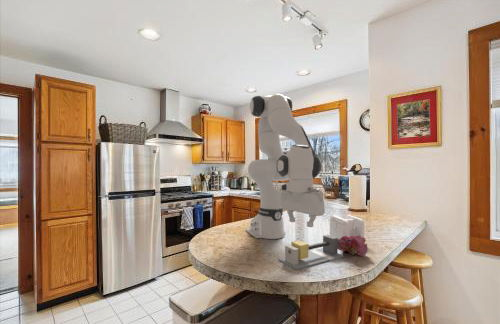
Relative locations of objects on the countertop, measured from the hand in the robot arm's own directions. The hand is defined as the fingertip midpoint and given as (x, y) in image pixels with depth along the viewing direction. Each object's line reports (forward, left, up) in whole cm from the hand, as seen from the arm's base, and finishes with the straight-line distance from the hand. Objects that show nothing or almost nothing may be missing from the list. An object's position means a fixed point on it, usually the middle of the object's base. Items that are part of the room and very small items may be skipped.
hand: (300, 224), depth 90 cm
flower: (+4, +24, -14) cm, 29 cm away
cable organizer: (-8, +38, -14) cm, 42 cm away
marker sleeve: (0, 0, -12) cm, 12 cm away
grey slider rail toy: (0, +7, -14) cm, 16 cm away
